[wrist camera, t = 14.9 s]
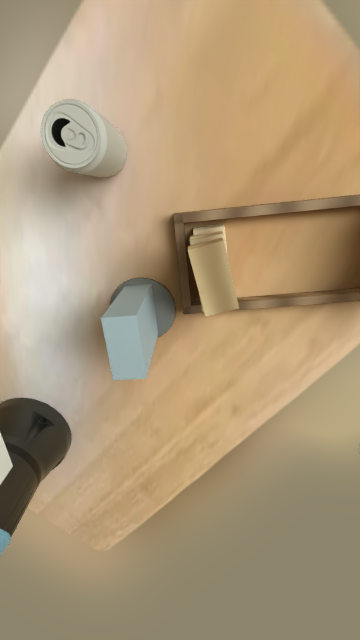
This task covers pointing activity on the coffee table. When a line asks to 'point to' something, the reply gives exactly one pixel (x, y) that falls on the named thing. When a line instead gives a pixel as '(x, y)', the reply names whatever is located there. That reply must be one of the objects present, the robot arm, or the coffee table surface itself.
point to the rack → (256, 210)
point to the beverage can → (82, 139)
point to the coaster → (155, 302)
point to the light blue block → (130, 332)
